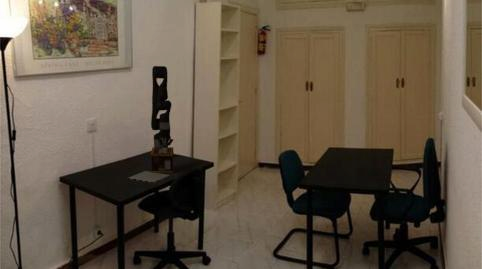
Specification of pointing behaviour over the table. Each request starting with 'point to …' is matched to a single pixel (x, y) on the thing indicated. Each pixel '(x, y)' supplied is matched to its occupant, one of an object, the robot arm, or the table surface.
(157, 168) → the supplement box
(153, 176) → the mat
